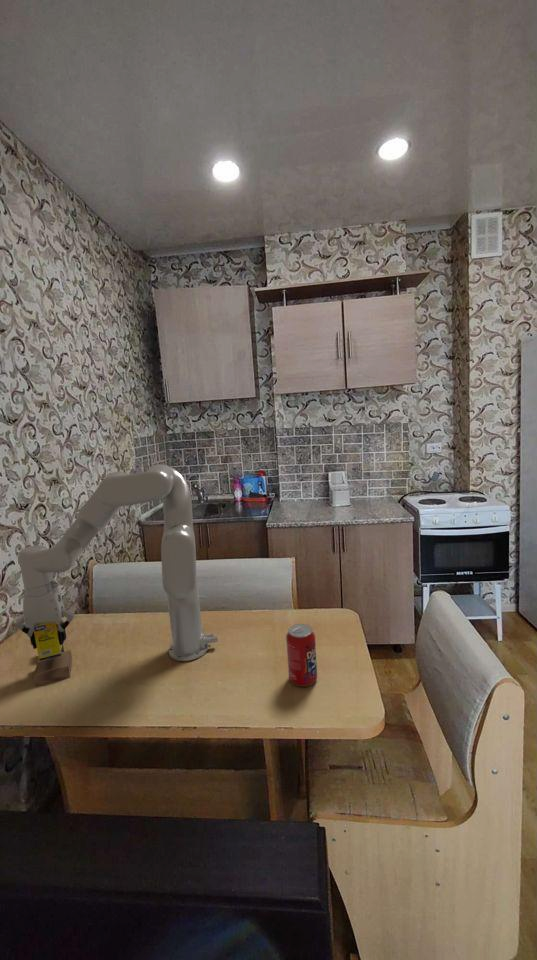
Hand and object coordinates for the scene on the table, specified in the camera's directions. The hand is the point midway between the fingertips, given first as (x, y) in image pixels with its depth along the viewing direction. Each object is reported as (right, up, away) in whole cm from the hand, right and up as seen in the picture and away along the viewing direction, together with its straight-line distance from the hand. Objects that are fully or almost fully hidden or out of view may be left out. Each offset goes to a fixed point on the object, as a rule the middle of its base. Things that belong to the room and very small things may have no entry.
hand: (49, 643), depth 124 cm
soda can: (+75, -7, -9) cm, 76 cm away
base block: (+1, -10, +2) cm, 10 cm away
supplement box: (0, -3, +1) cm, 3 cm away
